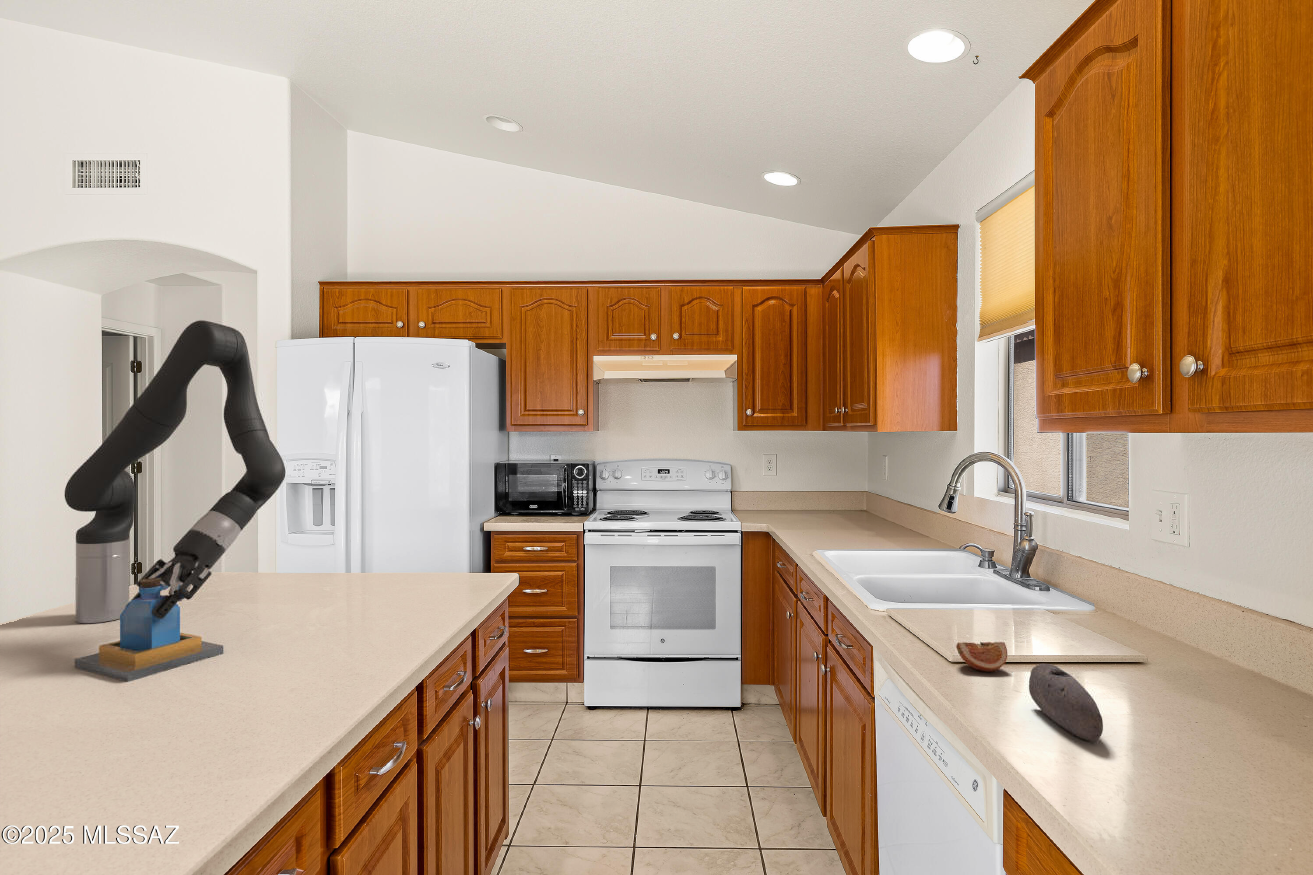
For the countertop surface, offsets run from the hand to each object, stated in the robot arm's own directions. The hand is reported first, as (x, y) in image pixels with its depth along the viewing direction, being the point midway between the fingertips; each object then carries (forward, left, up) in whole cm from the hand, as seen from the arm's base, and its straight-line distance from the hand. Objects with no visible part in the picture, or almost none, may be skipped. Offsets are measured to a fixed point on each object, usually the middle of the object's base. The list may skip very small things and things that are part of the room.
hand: (143, 613), depth 122 cm
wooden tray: (0, +1, -9) cm, 9 cm away
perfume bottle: (0, +1, -6) cm, 7 cm away
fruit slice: (+137, +61, -9) cm, 150 cm away
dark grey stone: (+148, +40, -9) cm, 154 cm away
